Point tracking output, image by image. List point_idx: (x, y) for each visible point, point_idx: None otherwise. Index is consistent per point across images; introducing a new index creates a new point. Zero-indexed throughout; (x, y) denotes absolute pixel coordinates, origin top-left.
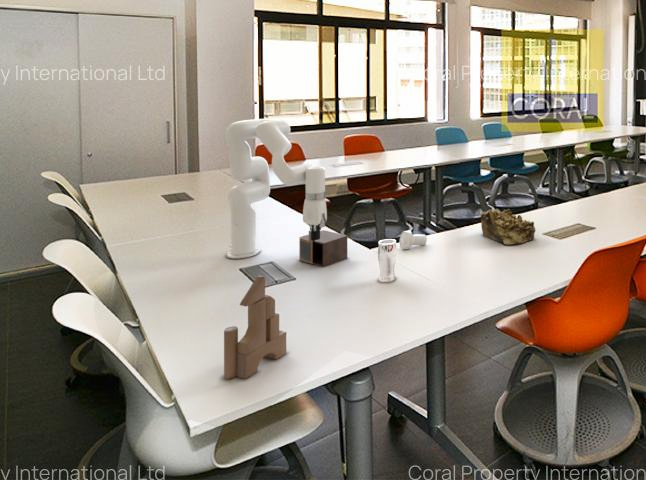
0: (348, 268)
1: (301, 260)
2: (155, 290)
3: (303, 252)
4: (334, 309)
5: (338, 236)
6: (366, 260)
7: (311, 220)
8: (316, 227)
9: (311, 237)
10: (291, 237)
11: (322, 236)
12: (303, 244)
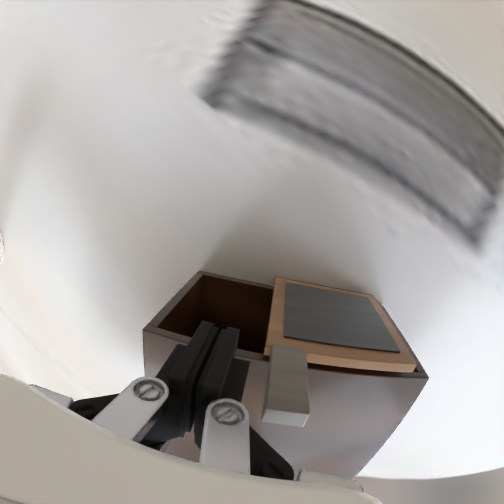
0: (102, 287)
1: (358, 293)
2: None
3: (351, 309)
4: (6, 63)
5: (181, 441)
6: (117, 368)
7: (46, 472)
8: (109, 411)
9: (224, 339)
10: (492, 421)
11: (276, 434)
12: (363, 336)
